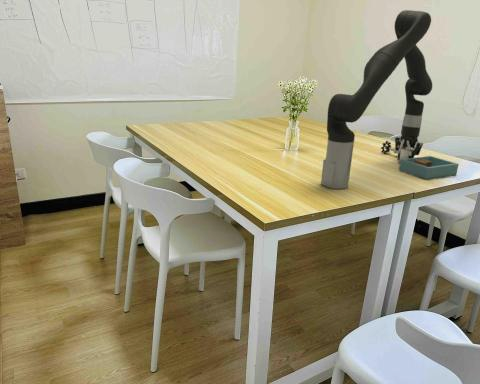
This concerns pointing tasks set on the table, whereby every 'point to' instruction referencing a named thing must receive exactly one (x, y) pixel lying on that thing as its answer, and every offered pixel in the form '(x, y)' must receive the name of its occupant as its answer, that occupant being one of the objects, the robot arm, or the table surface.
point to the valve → (388, 148)
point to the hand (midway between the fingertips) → (404, 161)
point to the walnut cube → (423, 162)
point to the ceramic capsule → (404, 154)
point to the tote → (429, 168)
